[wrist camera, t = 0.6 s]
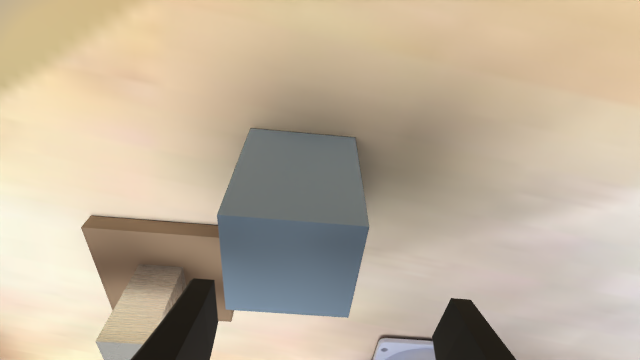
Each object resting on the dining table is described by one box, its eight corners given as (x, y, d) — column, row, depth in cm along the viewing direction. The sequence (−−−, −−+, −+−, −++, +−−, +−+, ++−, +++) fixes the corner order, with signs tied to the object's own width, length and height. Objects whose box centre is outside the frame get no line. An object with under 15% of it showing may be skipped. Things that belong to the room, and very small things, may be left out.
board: (234, 309, 26) (231, 321, 25) (121, 301, 25) (114, 314, 24) (228, 226, 21) (224, 238, 20) (90, 215, 21) (81, 227, 20)
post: (187, 294, 23) (158, 371, 19) (146, 291, 23) (108, 369, 19) (182, 267, 22) (149, 344, 17) (139, 263, 21) (95, 341, 17)
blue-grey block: (341, 217, 21) (348, 317, 15) (251, 210, 20) (225, 309, 15) (355, 137, 18) (369, 226, 12) (250, 128, 17) (217, 214, 12)
